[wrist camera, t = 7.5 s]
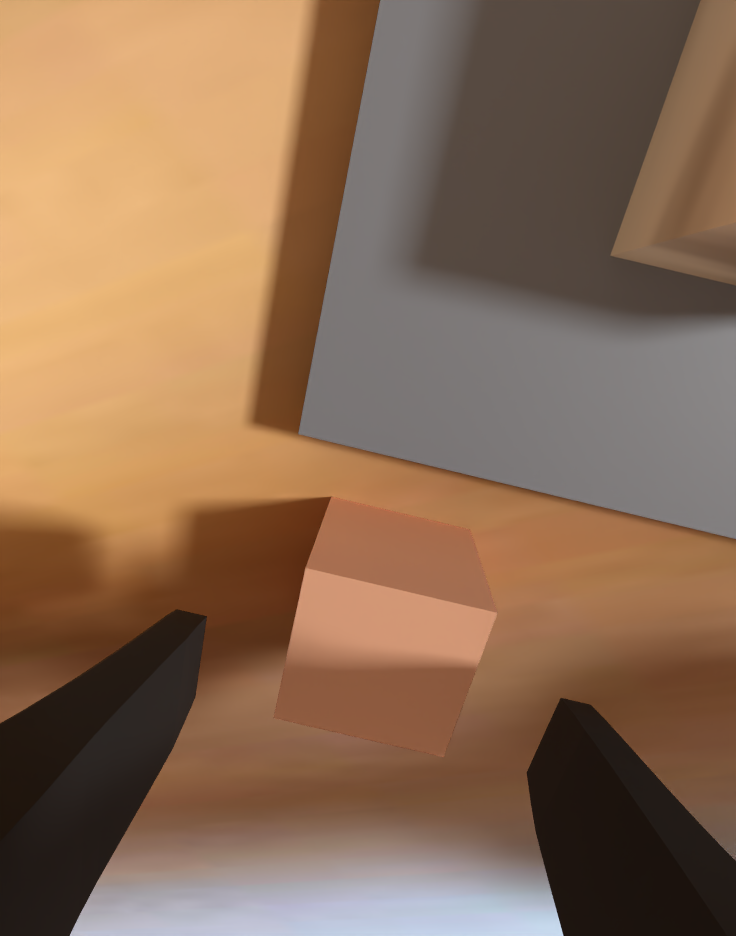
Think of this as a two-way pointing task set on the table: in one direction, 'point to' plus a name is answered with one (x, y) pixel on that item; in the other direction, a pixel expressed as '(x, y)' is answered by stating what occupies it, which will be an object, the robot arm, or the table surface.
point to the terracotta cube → (386, 628)
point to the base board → (523, 265)
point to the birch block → (691, 161)
